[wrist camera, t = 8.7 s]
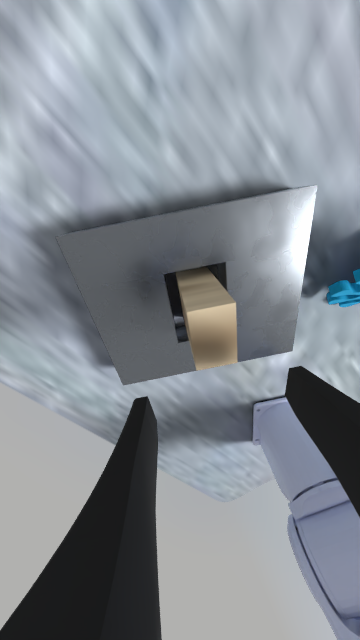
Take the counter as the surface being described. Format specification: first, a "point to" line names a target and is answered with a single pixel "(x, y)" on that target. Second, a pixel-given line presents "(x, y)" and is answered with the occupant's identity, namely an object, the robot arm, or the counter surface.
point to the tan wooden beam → (208, 318)
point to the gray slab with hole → (186, 253)
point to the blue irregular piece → (345, 292)
